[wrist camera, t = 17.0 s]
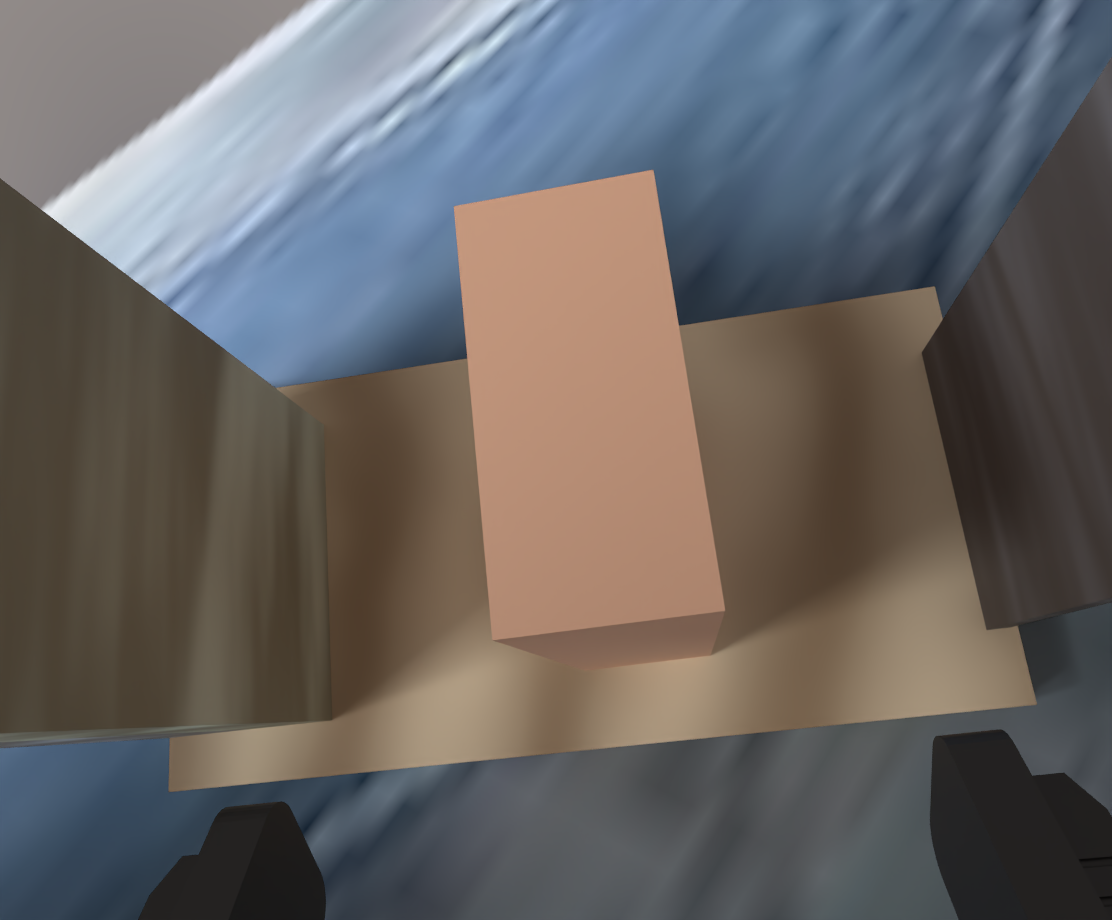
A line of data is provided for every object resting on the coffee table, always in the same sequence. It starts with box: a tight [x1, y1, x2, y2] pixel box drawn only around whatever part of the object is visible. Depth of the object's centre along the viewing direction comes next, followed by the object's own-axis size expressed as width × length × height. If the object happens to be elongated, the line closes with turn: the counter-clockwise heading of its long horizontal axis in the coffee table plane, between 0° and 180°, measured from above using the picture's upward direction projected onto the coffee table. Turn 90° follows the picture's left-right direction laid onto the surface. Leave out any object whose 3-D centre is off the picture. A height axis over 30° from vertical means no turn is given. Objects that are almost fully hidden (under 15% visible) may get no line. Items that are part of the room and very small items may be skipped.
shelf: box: [0, 58, 1112, 792], centre depth 20 cm, size 24×12×16 cm, turn 96°
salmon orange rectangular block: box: [454, 170, 725, 671], centre depth 20 cm, size 4×8×12 cm, turn 7°
